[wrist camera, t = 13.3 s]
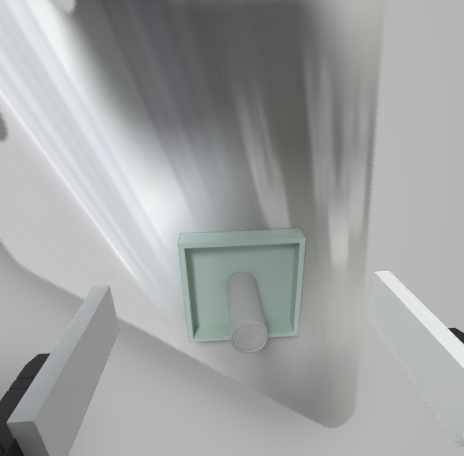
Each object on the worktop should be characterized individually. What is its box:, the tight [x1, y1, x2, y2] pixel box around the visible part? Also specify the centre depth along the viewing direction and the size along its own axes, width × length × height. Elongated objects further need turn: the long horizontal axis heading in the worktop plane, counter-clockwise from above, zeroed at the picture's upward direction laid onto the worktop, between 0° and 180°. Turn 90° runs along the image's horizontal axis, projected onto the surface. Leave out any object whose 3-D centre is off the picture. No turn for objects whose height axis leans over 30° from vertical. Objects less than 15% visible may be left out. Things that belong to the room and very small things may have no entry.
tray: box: [178, 228, 306, 342], centre depth 47 cm, size 18×18×3 cm
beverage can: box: [227, 273, 267, 353], centre depth 42 cm, size 5×5×12 cm
